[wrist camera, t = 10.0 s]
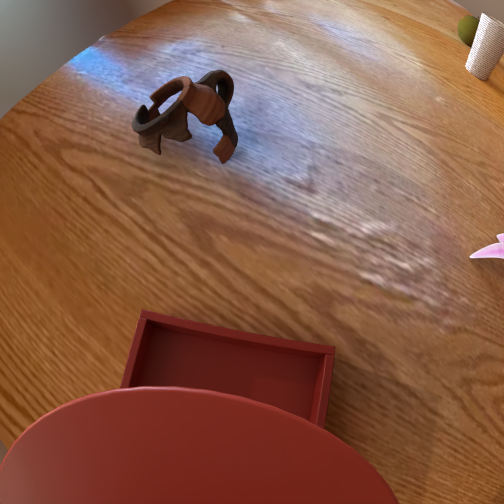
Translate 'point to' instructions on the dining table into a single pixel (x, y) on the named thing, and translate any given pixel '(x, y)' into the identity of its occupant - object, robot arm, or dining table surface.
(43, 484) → the red pin
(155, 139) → the brown irregular piece
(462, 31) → the apple
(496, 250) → the lily
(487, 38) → the cup
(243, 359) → the red tray
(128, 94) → the dining table surface
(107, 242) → the dining table surface
